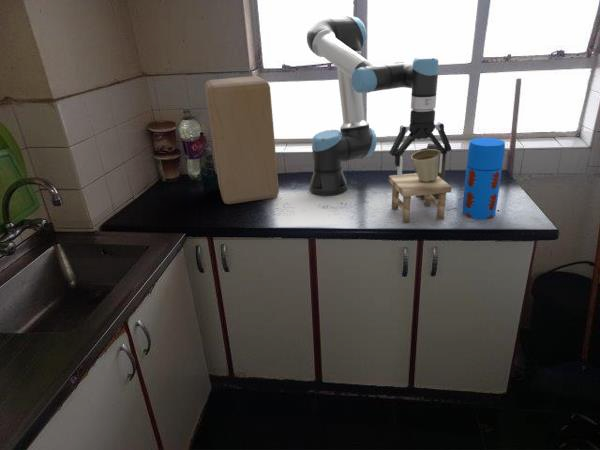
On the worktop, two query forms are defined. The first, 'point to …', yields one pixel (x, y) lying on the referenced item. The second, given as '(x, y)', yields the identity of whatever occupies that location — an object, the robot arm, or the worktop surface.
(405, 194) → the footstool
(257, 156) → the block
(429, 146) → the canister
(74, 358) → the worktop surface
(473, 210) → the thermos
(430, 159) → the flower pot
